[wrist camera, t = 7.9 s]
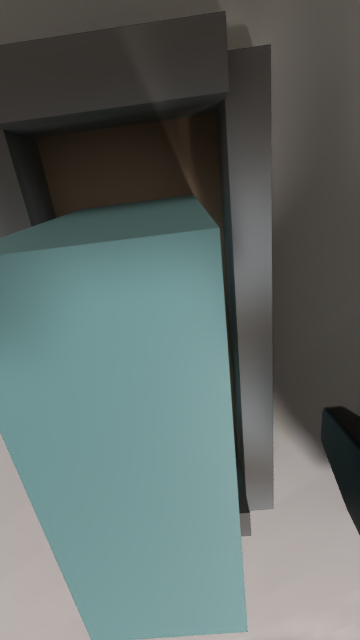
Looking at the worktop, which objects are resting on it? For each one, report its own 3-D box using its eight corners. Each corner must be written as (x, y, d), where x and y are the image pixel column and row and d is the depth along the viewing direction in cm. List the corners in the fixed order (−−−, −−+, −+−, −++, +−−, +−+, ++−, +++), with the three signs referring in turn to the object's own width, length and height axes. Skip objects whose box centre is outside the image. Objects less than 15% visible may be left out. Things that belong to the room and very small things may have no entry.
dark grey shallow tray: (265, 460, 18) (287, 532, 14) (101, 475, 18) (82, 549, 15) (257, 58, 11) (298, 0, 7) (-12, 97, 11) (-103, 60, 8)
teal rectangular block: (215, 418, 16) (247, 631, 8) (132, 426, 16) (92, 642, 8) (193, 194, 12) (219, 227, 4) (82, 208, 12) (-74, 264, 4)
